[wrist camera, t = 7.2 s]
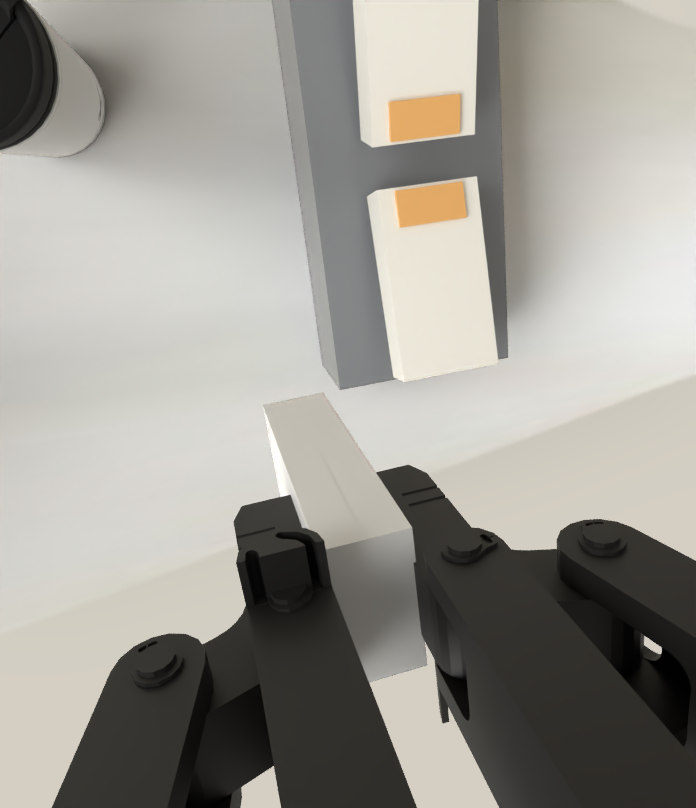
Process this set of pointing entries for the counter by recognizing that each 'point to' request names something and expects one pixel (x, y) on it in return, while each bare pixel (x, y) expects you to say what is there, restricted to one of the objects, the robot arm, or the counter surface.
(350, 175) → the switch unit
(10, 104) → the travel mug
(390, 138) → the plate
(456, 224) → the rocker
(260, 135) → the counter surface
